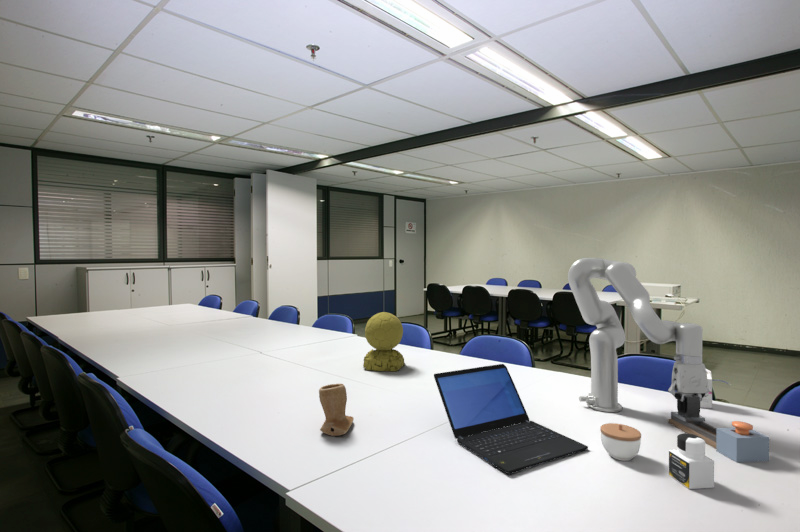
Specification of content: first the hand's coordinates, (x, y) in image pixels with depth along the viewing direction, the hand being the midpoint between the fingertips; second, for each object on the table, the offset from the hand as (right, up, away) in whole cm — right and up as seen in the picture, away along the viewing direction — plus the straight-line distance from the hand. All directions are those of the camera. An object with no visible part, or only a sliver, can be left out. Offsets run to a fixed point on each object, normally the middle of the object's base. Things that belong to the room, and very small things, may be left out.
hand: (688, 411), depth 144 cm
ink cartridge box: (+21, -6, +23) cm, 31 cm away
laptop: (-66, -7, -8) cm, 66 cm away
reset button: (+1, 0, -21) cm, 21 cm away
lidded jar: (-35, -6, -21) cm, 41 cm away
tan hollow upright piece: (-123, -6, 0) cm, 123 cm away
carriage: (0, -4, 0) cm, 4 cm away
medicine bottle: (-24, -7, -35) cm, 43 cm away
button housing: (+1, -6, -21) cm, 22 cm away
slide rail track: (0, -6, -6) cm, 9 cm away
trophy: (-109, -5, +84) cm, 138 cm away
